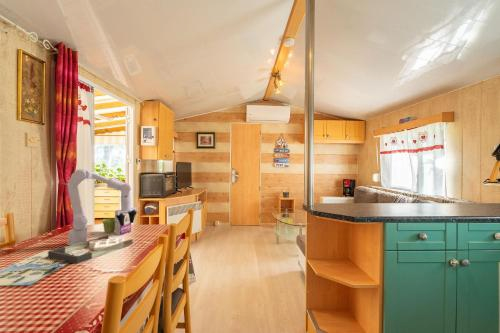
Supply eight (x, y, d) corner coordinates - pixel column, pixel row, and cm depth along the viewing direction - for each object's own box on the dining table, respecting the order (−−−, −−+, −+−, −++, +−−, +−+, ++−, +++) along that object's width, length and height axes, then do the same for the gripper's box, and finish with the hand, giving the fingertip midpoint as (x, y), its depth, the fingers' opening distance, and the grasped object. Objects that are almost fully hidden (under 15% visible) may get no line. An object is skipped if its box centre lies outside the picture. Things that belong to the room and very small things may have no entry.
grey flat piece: (63, 252, 139) (63, 247, 139) (107, 240, 165) (107, 235, 165) (91, 258, 132) (91, 252, 132) (132, 244, 158) (132, 239, 158)
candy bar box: (124, 231, 188) (125, 208, 188) (131, 231, 187) (131, 208, 187) (113, 234, 177) (114, 210, 177) (120, 235, 176) (121, 211, 176)
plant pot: (112, 234, 179) (112, 221, 179) (98, 233, 179) (99, 221, 179) (119, 230, 188) (119, 218, 188) (106, 230, 188) (106, 218, 188)
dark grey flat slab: (48, 257, 132) (48, 251, 132) (63, 252, 139) (63, 247, 139) (77, 263, 125) (77, 257, 125) (91, 258, 132) (91, 252, 132)
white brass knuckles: (86, 252, 142) (90, 244, 156) (123, 249, 150) (124, 242, 163) (87, 246, 142) (90, 239, 156) (123, 243, 150) (124, 236, 163)
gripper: (121, 204, 157) (122, 227, 157) (139, 201, 170) (140, 221, 171) (112, 204, 159) (113, 226, 160) (131, 200, 173) (132, 221, 173)
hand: (127, 224), depth 165 cm, fingers open, 7 cm apart
